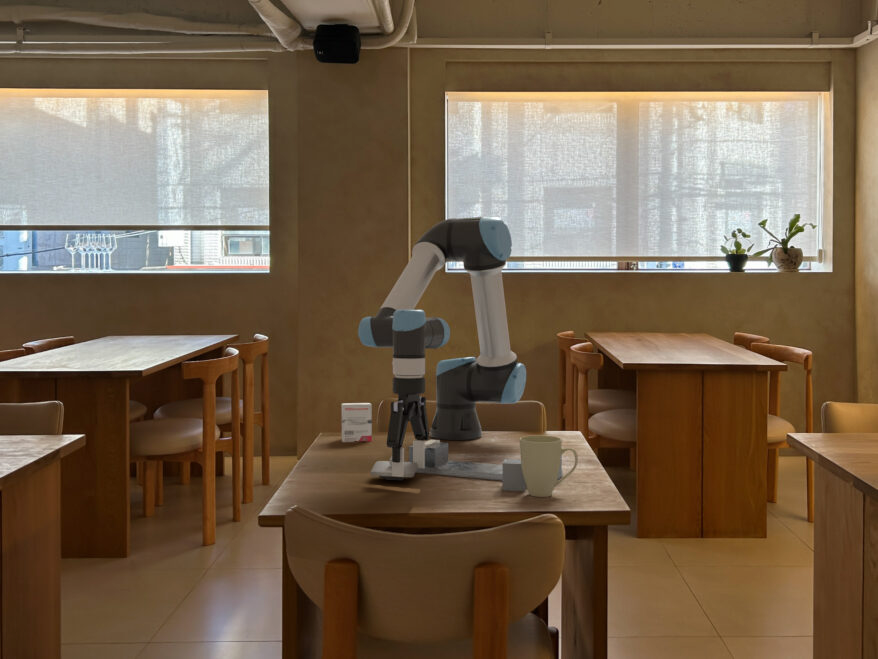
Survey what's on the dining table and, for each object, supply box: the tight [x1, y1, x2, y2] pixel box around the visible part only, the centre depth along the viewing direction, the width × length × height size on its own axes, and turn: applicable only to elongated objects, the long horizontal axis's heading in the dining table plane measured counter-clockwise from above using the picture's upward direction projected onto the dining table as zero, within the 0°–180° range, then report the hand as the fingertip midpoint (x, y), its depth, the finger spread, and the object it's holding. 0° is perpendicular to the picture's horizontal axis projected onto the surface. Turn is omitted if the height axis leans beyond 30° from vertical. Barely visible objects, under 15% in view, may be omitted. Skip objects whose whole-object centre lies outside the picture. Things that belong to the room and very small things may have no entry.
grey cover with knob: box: [370, 456, 417, 481], centre depth 195 cm, size 10×10×5 cm
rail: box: [408, 439, 564, 481], centre depth 202 cm, size 10×36×7 cm, turn 66°
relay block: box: [501, 458, 527, 492], centre depth 187 cm, size 5×5×6 cm
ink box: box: [341, 402, 373, 443], centre depth 243 cm, size 8×5×12 cm, turn 99°
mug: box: [519, 434, 579, 498], centre depth 181 cm, size 11×10×12 cm
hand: (408, 472), depth 195 cm, fingers closed on grey cover with knob, 10 cm apart
